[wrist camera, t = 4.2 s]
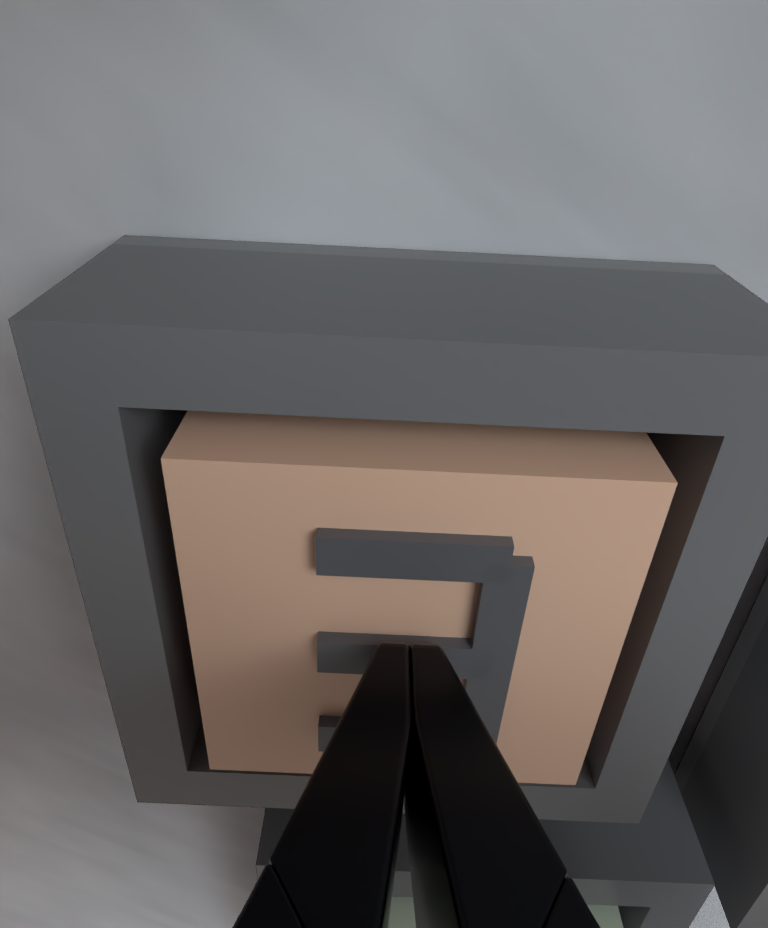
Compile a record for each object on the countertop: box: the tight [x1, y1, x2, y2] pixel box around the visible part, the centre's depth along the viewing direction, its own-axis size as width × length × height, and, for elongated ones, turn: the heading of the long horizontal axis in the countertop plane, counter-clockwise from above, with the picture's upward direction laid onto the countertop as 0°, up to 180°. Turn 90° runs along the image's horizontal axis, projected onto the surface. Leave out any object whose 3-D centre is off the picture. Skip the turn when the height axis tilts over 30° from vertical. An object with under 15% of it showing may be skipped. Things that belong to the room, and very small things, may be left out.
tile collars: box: [8, 235, 768, 928], centre depth 14 cm, size 20×21×4 cm
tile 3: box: [161, 411, 678, 785], centre depth 10 cm, size 6×6×3 cm
